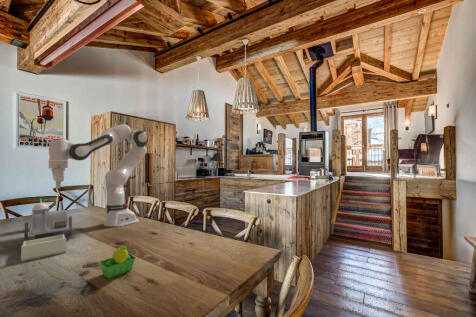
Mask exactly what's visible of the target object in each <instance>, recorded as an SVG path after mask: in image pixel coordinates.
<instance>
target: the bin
mask: <svg viewBox="0 0 476 317" xmlns="http://www.w3.org/2000/svg"><path fill="white" fill-rule="evenodd" d="M65 236H66V235H65V234H64V233H63V235H57V236H52V237H46V238H40V239H35V238H34V239H30V240H29V239H28V241H23V243H22V245H21V247H20V249H21V250H20V252H21V254H20V263H24V262H25V263H26V262H29V261H34V260H39V259H43V258H47V257H51V256H52V257H53V256H56V255H61V254H65V253H67V237H65Z"/></svg>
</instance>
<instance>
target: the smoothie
mask: <svg viewBox="0 0 476 317" xmlns="http://www.w3.org/2000/svg"><path fill="white" fill-rule="evenodd" d="M39 201H40V202H38V203H36V204H35V205H33V207H32V209H31V210H36V209H46V208H47V210H46V211H47V212H50V207H49V205H48V204H47V203H46V202H43V200H42V198H40V200H39Z"/></svg>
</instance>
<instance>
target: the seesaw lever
mask: <svg viewBox="0 0 476 317" xmlns="http://www.w3.org/2000/svg"><path fill="white" fill-rule="evenodd" d="M31 210H32V209H31ZM46 210H47V208H46V209H36V210H32V211H31V215H30V222H29V223H30V224H29V229H28V237H31V236H35V235H38V234H44V233H50V232H57V231H63V232H64V231H68V230H69V219H68V215H67V211H66V209H62V210H61V209H60V210H54V211H49V212H47V211H46Z"/></svg>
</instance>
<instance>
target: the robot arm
mask: <svg viewBox="0 0 476 317" xmlns="http://www.w3.org/2000/svg"><path fill="white" fill-rule="evenodd" d="M148 140H149V135H148V134H147V132H145V131H143V130H139V129H135V130H133V129H131V127H130V126H129V125H128V124H126V123H123V124H122V123H121V124H118V125H115V126H112V127H110V128H108V129H105V130H104V131H103V132H101V135H99V136H98V137H97V138H94V139H92V140H90V141H88V142H85V143H74V142H71V141H69V140H68V139H66V138H56V139H55V138H54V139H51V141H49V143H48V144H49V145H48V155H49V158H48V169H51V173H52V179H53V180H54V182H55V187H56V189H61V185H62V183H63V182H64V180H65V175H64V174H65V171H66V169H68V164H69V159H70V160H74V161H84V160H86V159H88V158H89V157H90V156H91V154H92V153H94V152H96V151H97V150H99V149H101V148H103V147H106V146H111V145H116V144H118V143H120V142H122V141H125V142H127V143H128V144H130V145H132V146H131V148H130V149H129V150H128V151H127V152H126V153H125V155H124V156H123V157H122V158H121V159H120V160H119V163H118V164H117V166H116V167H115V168H114V169H111V170H108V171H107V172H106V174H105V176H104V178H105V179H104V180H105V188H106V205H105V213H106V214H105V219H104V223H103V226H104V227H114V228H115V227H116V228H117V227H123V226H127V225H133V224H136V223H139V222H140V219H139V218H137V215H136V213H135V212H134V211H132V210H131V209H129V207H130V205H129V204H128V203H125V197H126V196H125V195H126V193H125V188H124V185H125V184H127V182H128V180H129V177H130V176H131V174H132V173H133V171H134V169H135V168H136V167H137V166H138V165H139V163H140V162H141V161H142V160H143V158H144V156H146V153H147V150H148V149H147V143H148V142H149V141H148Z"/></svg>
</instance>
